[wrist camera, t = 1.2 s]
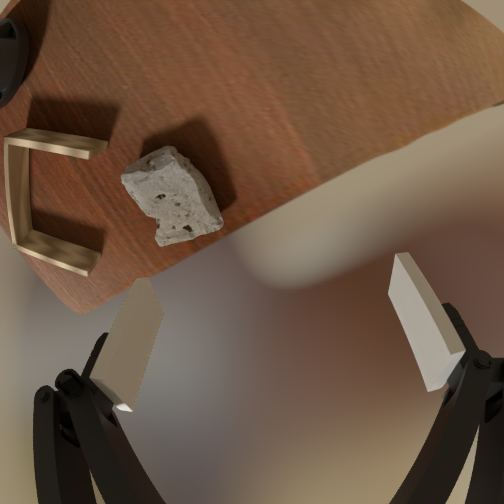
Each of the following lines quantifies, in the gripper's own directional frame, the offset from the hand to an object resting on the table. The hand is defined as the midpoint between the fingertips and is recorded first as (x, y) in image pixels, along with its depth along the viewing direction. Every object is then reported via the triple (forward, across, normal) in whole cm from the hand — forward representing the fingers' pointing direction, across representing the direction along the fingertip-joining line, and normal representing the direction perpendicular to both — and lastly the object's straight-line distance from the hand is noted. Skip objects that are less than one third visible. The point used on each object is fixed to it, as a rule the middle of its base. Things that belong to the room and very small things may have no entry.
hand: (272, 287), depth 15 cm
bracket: (+22, -31, +2) cm, 38 cm away
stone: (+20, -16, -4) cm, 26 cm away
